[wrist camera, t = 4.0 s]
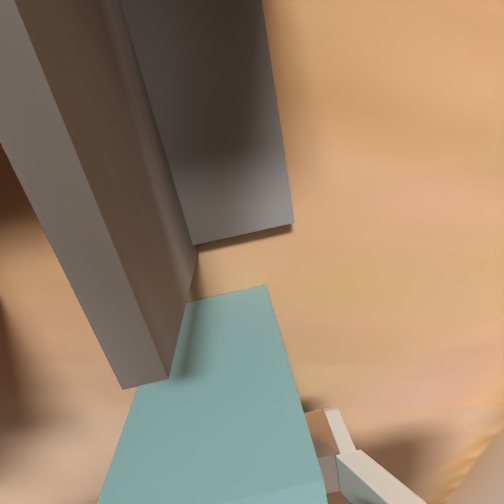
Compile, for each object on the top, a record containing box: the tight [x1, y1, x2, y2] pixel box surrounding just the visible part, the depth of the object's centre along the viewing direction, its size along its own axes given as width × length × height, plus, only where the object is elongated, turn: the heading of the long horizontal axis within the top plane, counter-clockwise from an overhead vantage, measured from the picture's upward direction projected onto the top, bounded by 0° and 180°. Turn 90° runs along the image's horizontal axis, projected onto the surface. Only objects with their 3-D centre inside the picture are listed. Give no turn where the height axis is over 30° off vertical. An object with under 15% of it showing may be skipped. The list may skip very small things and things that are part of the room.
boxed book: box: [97, 285, 328, 504], centre depth 10 cm, size 4×9×7 cm, turn 11°
